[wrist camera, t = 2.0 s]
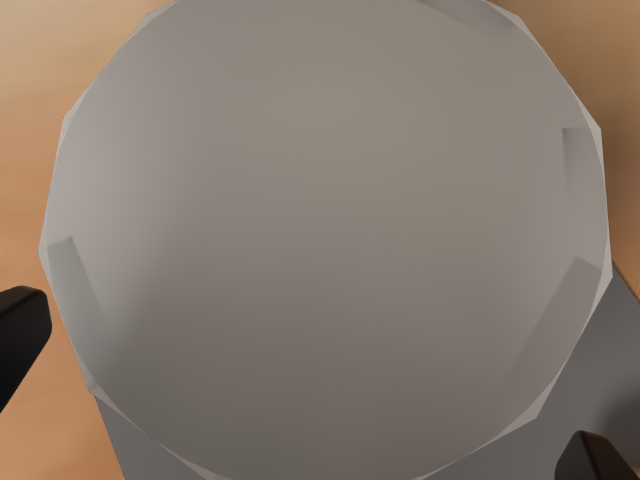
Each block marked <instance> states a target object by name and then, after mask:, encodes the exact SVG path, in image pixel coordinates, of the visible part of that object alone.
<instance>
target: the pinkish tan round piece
mask: <svg viewBox="0 0 640 480" xmlns="http://www.w3.org/2000/svg"><path fill="white" fill-rule="evenodd" d="M631 468H632V469H633V470H634V471H635V473H636V474H637V475H638V476H639V478H640V467H636V466H631Z"/></svg>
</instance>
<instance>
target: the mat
mask: <svg viewBox="0 0 640 480" xmlns="http://www.w3.org/2000/svg"><path fill="white" fill-rule="evenodd" d="M612 274H613V278H612V279H611V281H610V283H609V285H608V286H607V288H606V290H605V292H604V294H603V296H602V298H601V299H600V301H599V303H598V305H597V307H596V309H595V310H594V312H593V314H592V316H591V318H590V320H589V321H588V323H587V325H586V327H585V329H584V331H583V333H582V334H581V336H580V338H579V340H578V342H577V344H576V345H575V347H574V349H573V351H572V353H571V355H570V356H569V358H568V360H567V362H566V364H565V366H564V368H563V369H562V371H561V373H560V375H559V377H558V379H557V380H556V382H555V384H554V386H553V388H552V390H551V392H550V393H549V395H548V397H547V399H546V401H545V403H544V404H543V406H542V408H541V410H540V412H539V414H538V415H537V417H536V419H534V420H532V421H530V422H528V423H526V424H524V425H523V426H521V427H519V428H517V429H515V430H513V431H511V432H510V433H508V434H506V435H504V436H502V437H500V438H499V439H497V440H495V441H493V442H491V443H489V444H487V445H486V446H484V447H482V448H480V449H478V450H476V451H474V452H473V453H471V454H469V455H467V456H465V457H463V458H462V459H460V460H458V461H456V462H454V463H452V464H450V465H449V466H447V467H445V468H443V469H441V470H439V471H438V472H436V473H434V474H432V475H430V476H428V477H426V478H425V479H423V480H554V474H555V468H556V464H557V462H558V460H559V458H560V456H561V454H562V453H563V451H564V449H565V448H566V446H567V444H568V442H569V441H570V439H571V437H572V436H573V434H574V433H575V432H576V431H578V430H583V431H587V432H591V433H595V434H599V435H602V436H605V437H606V438H607V439H609V440H610V441H611V443H612V444H613V445H614V446H615V448H616V449H617V450H618V451H619V453H620V454H621V455H622V456H623V458H624V459H625V460H626V461H627V463H628V464H629V465H630V466H636V467H640V304H639V303H638V301H637V300H636V298H635V297H634V295H633V294H632V292H631V291H630V290H629V288H628V287H627V285H626V284H625V282H624V281H623V279H622V278H621V276H620V275H619V273H618V272H617V270H616V269H615V267H614V266H613V264H612ZM94 396H95V395H94ZM95 399H96V401H97V404H98V407H99V410H100V412H101V415H102V418H103V420H104V423H105V426H106V429H107V431H108V434H109V437H110V439H111V442H112V445H113V448H114V450H115V453H116V456H117V458H118V461H119V464H120V467H121V469H122V472H123V475H124V477H125V480H206V479H204V478H203V477H202V476H201V475H199V474H198V473H197V472H195V471H194V470H193V469H191V468H190V467H189V466H187V465H186V464H185V463H183V462H182V461H181V460H179V459H178V458H177V457H175V456H174V455H173V454H171V453H170V452H169V451H168V450H166V449H165V448H164V447H162V446H161V445H160V444H158V443H157V442H156V441H154V440H153V439H152V438H150V437H149V436H148V435H146V434H145V433H144V432H142V431H141V430H140V429H139V428H137V427H136V426H135V425H133V424H132V423H131V422H129V421H128V420H127V419H125V418H124V417H123V416H121V415H120V414H119V413H117V412H116V411H115V410H113V409H112V408H111V407H109V406H108V405H107V404H106V403H104V402H103V401H102V400H100V399H99V398H98V397H96V396H95Z"/></svg>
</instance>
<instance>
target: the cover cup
mask: <svg viewBox="0 0 640 480" xmlns="http://www.w3.org/2000/svg"><path fill="white" fill-rule="evenodd" d="M38 255H39V257H40V260H41V263H42V266H43V268H44V271H45V274H46V277H47V279H48V282H49V285H50V287H51V290H52V293H53V296H54V298H55V301H56V304H57V307H58V309H59V312H60V315H61V317H62V320H63V323H64V326H65V328H66V331H67V334H68V337H69V339H70V342H71V345H72V347H73V350H74V353H75V356H76V358H77V361H78V364H79V367H80V369H81V372H82V375H83V377H84V380H85V383H86V386H87V388H88V391H90V392H91V393H92V394H94V395H95V396H96V397H98V398H99V399H100V400H102V401H103V402H104V403H106V404H107V405H108V406H109V407H111V408H112V409H113V410H115V411H116V412H117V413H119V414H120V415H121V416H123V417H124V418H125V419H127V420H128V421H129V422H131V423H132V424H133V425H135V426H136V427H137V428H139V429H140V430H141V431H142V432H144V433H145V434H146V435H148V436H149V437H150V438H152V439H153V440H154V441H156V442H157V443H158V444H160V445H161V446H162V447H164V448H165V449H166V450H168V451H169V452H170V453H171V454H173V455H174V456H175V457H177V458H178V459H179V460H181V461H182V462H183V463H185V464H186V465H187V466H189V467H190V468H191V469H193V470H194V471H195V472H197V473H198V474H199V475H201V476H202V477H203V478H204V479H206V480H423V479H425V478H426V477H428V476H430V475H432V474H434V473H436V472H438V471H439V470H441V469H443V468H445V467H447V466H449V465H450V464H452V463H454V462H456V461H458V460H460V459H462V458H463V457H465V456H467V455H469V454H471V453H473V452H474V451H476V450H478V449H480V448H482V447H484V446H486V445H487V444H489V443H491V442H493V441H495V440H497V439H499V438H500V437H502V436H504V435H506V434H508V433H510V432H511V431H513V430H515V429H517V428H519V427H521V426H523V425H524V424H526V423H528V422H530V421H532V420H534V419H536V417H537V415H538V414H539V412H540V410H541V408H542V406H543V404H544V403H545V401H546V399H547V397H548V395H549V393H550V392H551V390H552V388H553V386H554V384H555V382H556V380H557V379H558V377H559V375H560V373H561V371H562V369H563V368H564V366H565V364H566V362H567V360H568V358H569V356H570V355H571V353H572V351H573V349H574V347H575V345H576V344H577V342H578V340H579V338H580V336H581V334H582V333H583V331H584V329H585V327H586V325H587V323H588V321H589V320H590V318H591V316H592V314H593V312H594V310H595V309H596V307H597V305H598V303H599V301H600V299H601V298H602V296H603V294H604V292H605V290H606V288H607V286H608V285H609V283H610V281H611V279H612V278H613V274H612V262H611V249H610V237H609V224H608V212H607V199H606V187H605V174H604V162H603V149H602V137H601V129H600V127H599V126H598V124H597V123H596V122H595V120H594V119H593V118H592V116H591V115H590V113H589V112H588V111H587V109H586V108H585V106H584V105H583V104H582V102H581V101H580V100H579V98H578V97H577V95H576V94H575V93H574V91H573V90H572V88H571V87H570V86H569V84H568V83H567V82H566V80H565V79H564V77H563V76H562V75H561V73H560V72H559V70H558V69H557V68H556V66H555V65H554V64H553V62H552V61H551V59H550V58H549V57H548V55H547V54H546V53H545V51H544V50H543V48H542V47H541V46H540V44H539V43H538V41H537V40H536V39H535V37H534V36H533V35H532V33H531V32H530V30H529V29H528V28H527V26H526V25H525V23H524V22H523V21H522V19H521V18H520V16H518V15H516V14H513V13H511V12H509V11H507V10H505V9H503V8H501V7H499V6H497V5H495V4H493V3H491V2H489V1H487V0H176V1H174V2H172V3H170V4H168V5H166V6H164V7H162V8H159V9H157V10H155V11H153V12H151V13H149V14H147V15H146V16H145V18H144V19H143V20H142V21H141V23H140V24H139V25H138V26H137V28H136V29H135V30H134V31H133V32H132V34H131V35H130V36H129V37H128V39H127V40H126V41H125V42H124V44H123V45H122V46H121V47H120V49H119V50H118V51H117V52H116V53H115V55H114V56H113V57H112V58H111V60H110V61H109V62H108V63H107V65H106V66H105V67H104V68H103V70H102V71H101V72H100V73H99V74H98V76H97V77H96V78H95V79H94V81H93V82H92V83H91V84H90V86H89V87H88V88H87V89H86V91H85V92H84V93H83V94H82V95H81V97H80V98H79V99H78V100H77V102H76V103H75V104H74V105H73V107H72V108H71V109H70V110H69V112H68V113H67V114H66V115H65V116H64V118H63V123H62V129H61V134H60V139H59V144H58V149H57V155H56V160H55V165H54V170H53V176H52V181H51V186H50V191H49V197H48V202H47V207H46V212H45V217H44V223H43V228H42V233H41V238H40V244H39V249H38Z"/></svg>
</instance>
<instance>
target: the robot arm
mask: <svg viewBox="0 0 640 480" xmlns="http://www.w3.org/2000/svg"><path fill="white" fill-rule="evenodd" d="M51 332H52V322H51V316H50V311H49V305H48V300H47V296H46V294H45V293H44V291H42V290H39V289H35V288H31V287H28V286H17V287H13V288H11V289H8V290H5V291H2V292H0V413H1V412H2V410H3V409H4V407H5V406H6V405H7V403H8V402H9V400H10V399H11V397H12V396H13V394H14V392H15V391H16V389H17V388H18V386H19V385H20V383H21V382H22V380H23V378H24V377H25V375H26V374H27V372H28V371H29V369H30V368H31V366H32V365H33V363H34V361H35V360H36V358H37V357H38V355H39V354H40V352H41V351H42V349H43V348H44V346H45V344H46V343H47V341H48V340H49V338H50V335H51ZM554 480H640V478H639V476H638V475H637V474H636V473H635V471H634V470H633V469H632V468H631V466H630V465H629V464H628V463H627V461H626V460H625V459H624V458H623V456H622V455H621V454H620V453H619V451H618V450H617V449H616V448H615V446H614V445H613V444H612V443H611V441H610V440H609V439H607V438H606V437H605V436H602V435H599V434H595V433H591V432H587V431H583V430H578V431H576V432H575V433H574V434H573V436H572V437H571V439H570V441H569V442H568V444H567V446H566V448H565V449H564V451H563V453H562V454H561V456H560V458H559V460H558V462H557V464H556V468H555V474H554Z"/></svg>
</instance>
